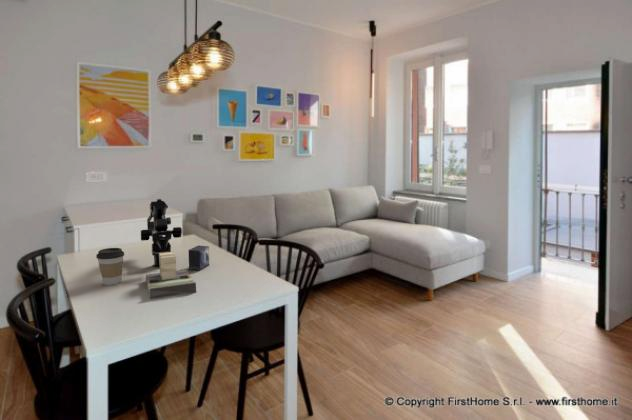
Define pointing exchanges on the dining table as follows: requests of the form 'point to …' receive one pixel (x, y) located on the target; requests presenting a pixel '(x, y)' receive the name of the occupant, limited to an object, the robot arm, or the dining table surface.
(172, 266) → the birch block
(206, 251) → the small box
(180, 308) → the dining table surface
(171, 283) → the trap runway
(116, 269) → the coffee cup
